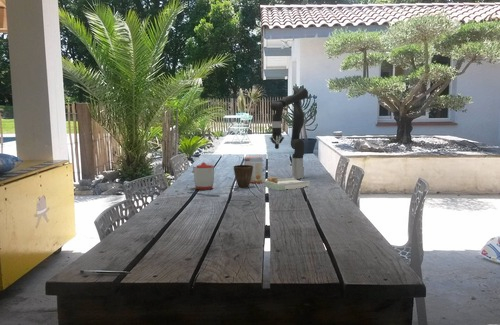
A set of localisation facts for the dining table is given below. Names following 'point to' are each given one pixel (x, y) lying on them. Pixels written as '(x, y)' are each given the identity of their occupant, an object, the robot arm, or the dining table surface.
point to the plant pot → (243, 175)
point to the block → (272, 179)
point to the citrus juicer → (203, 176)
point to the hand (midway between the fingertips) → (276, 148)
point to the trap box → (286, 184)
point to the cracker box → (255, 168)
